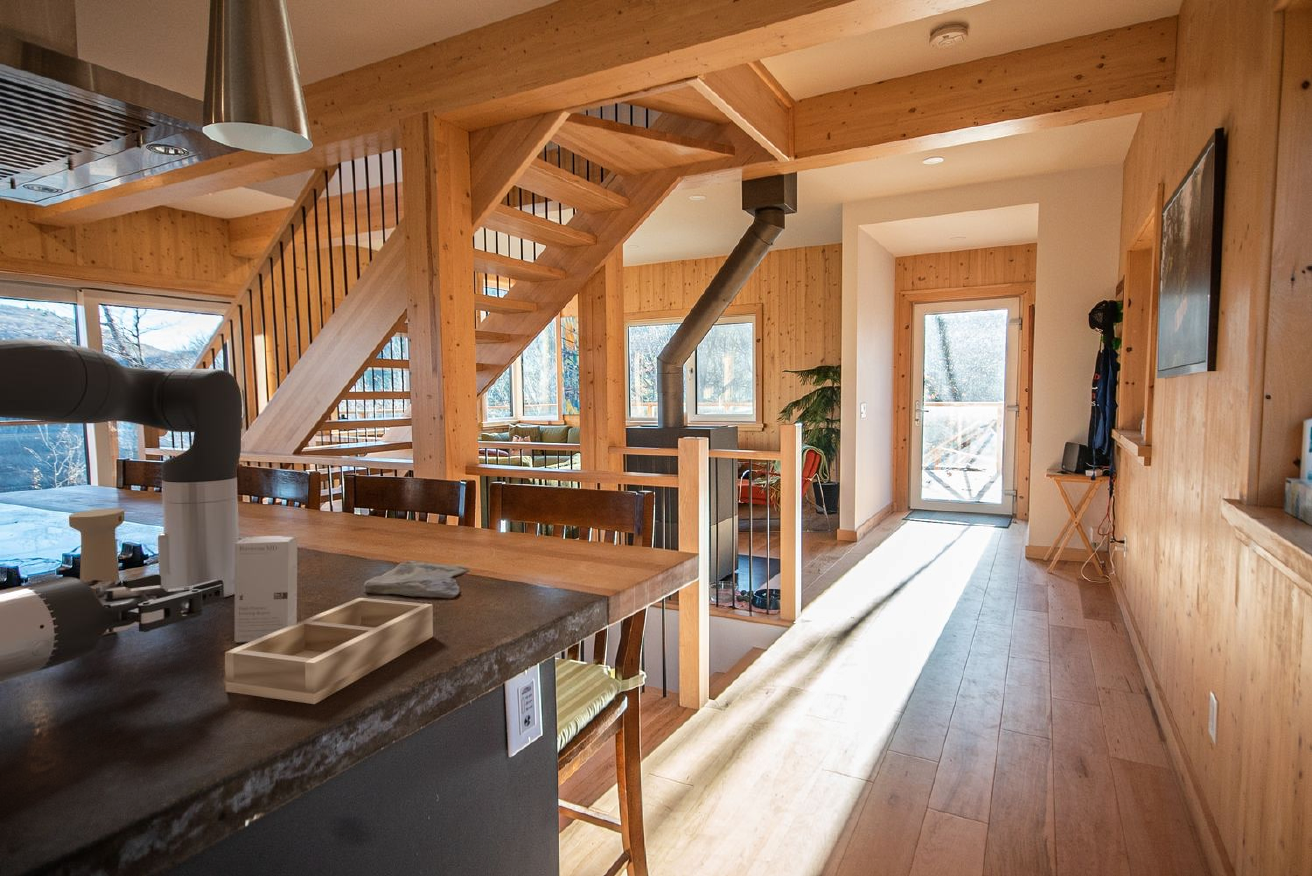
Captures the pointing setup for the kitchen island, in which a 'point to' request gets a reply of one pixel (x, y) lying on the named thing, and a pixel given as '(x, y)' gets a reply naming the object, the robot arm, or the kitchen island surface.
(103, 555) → the handle
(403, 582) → the fossil rock
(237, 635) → the skincare box
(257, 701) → the kitchen island surface
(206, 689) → the kitchen island surface
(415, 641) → the tray
